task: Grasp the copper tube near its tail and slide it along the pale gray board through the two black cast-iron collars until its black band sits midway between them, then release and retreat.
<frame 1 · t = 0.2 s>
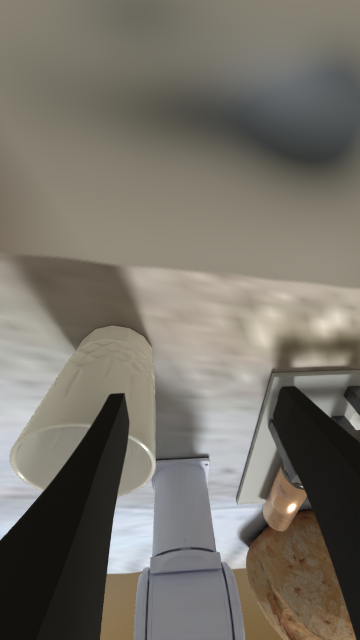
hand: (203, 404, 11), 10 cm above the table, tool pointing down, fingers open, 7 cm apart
copper tube: (283, 471, 33), point 1 cm above the table, touching pale gray board
collar 2: (319, 392, 25), resting on pale gray board
bread: (297, 530, 48), on the table
collar 1: (305, 421, 27), resting on pale gray board
white cup: (118, 353, 22), on the table
pale gray board: (289, 449, 31), on the table
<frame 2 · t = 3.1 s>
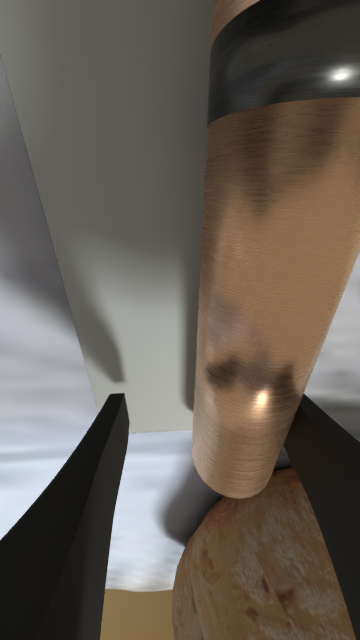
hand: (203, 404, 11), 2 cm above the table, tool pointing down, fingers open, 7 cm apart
copper tube: (212, 273, 8), point 1 cm above the table, tilted 43°, touching pale gray board
bread: (284, 517, 24), on the table
pale gray board: (212, 120, 7), on the table
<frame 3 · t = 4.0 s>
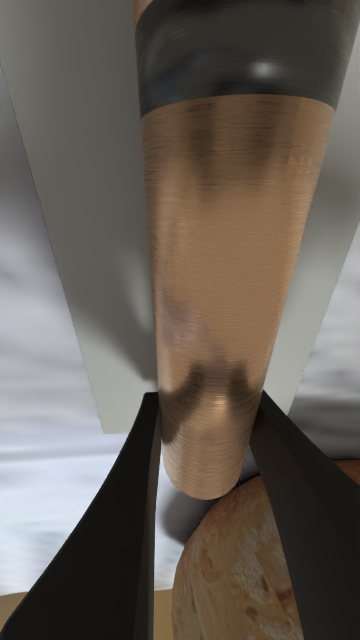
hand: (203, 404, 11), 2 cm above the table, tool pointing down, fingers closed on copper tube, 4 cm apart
copper tube: (204, 268, 9), point 1 cm above the table, touching gripper, pale gray board
bread: (283, 517, 24), on the table
pale gray board: (210, 119, 7), on the table
when the fingers open (2 cm above the table, at t = 7.7 s): copper tube stays where it is and tips over, resting on pale gray board.
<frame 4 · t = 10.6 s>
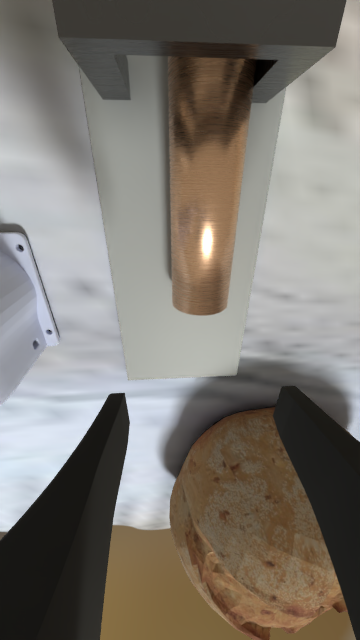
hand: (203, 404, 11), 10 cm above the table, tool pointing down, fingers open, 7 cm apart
copper tube: (185, 152, 13), point 1 cm above the table, tilted 31°, touching pale gray board
bread: (250, 457, 33), on the table
collar 1: (186, 82, 12), resting on pale gray board
pale gray board: (184, 222, 16), on the table
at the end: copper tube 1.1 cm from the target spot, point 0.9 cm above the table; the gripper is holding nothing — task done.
